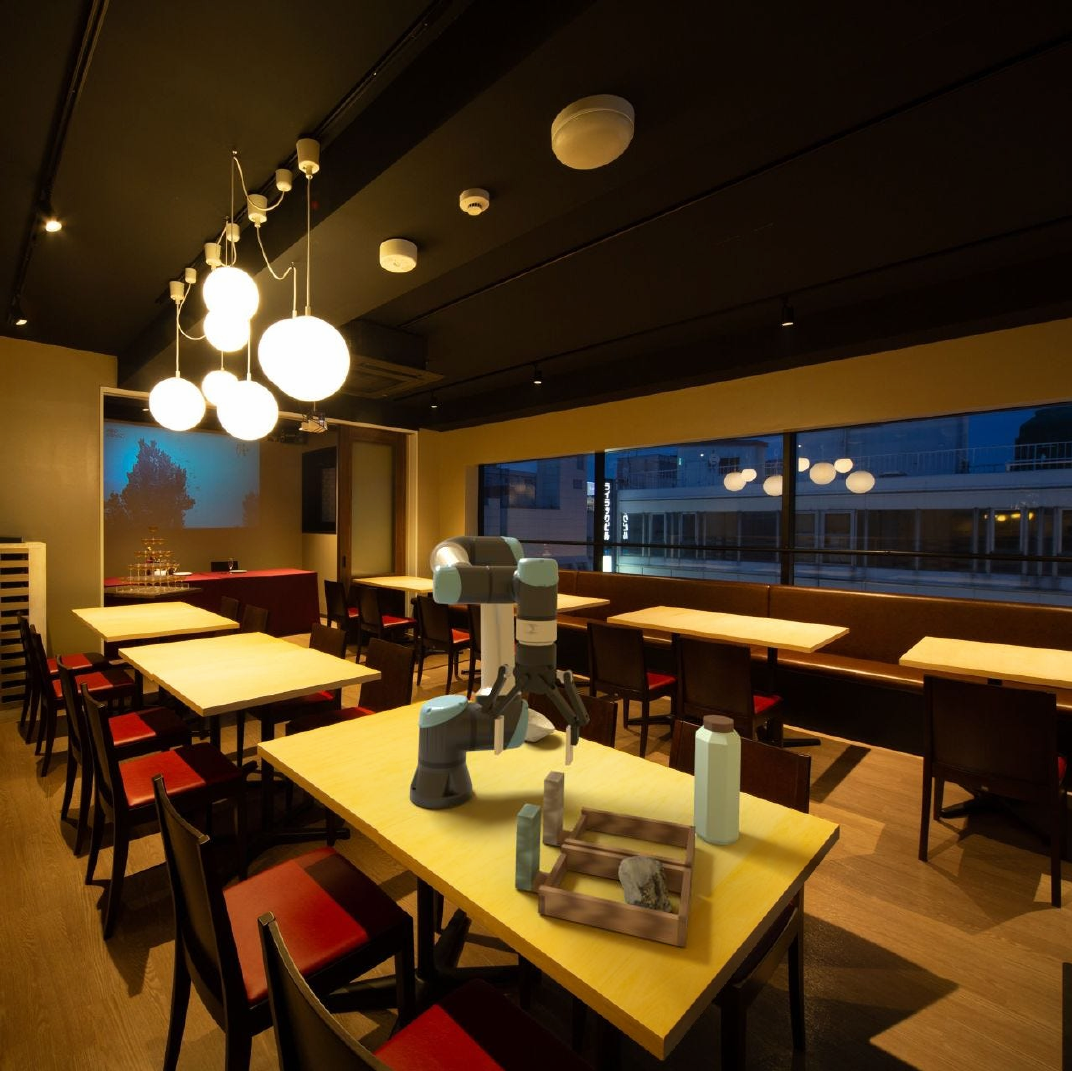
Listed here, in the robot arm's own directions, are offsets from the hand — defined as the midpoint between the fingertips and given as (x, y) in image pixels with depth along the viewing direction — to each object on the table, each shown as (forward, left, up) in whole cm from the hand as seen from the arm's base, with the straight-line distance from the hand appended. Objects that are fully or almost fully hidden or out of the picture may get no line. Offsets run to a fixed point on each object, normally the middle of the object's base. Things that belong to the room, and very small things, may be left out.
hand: (533, 757), depth 106 cm
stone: (+21, 0, -23) cm, 31 cm away
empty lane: (+13, +16, -22) cm, 31 cm away
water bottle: (+32, +31, -23) cm, 50 cm away
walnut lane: (+13, 0, -22) cm, 26 cm away
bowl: (-23, +72, -23) cm, 79 cm away
